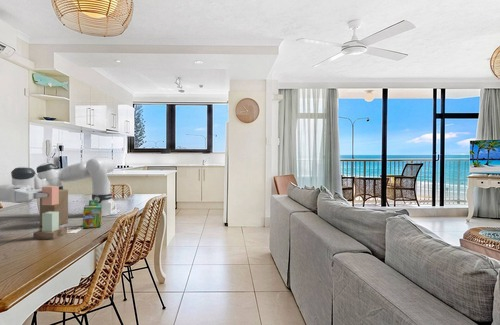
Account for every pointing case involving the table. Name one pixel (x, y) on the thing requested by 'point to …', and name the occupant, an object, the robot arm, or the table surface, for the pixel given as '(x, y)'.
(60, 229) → the walnut base
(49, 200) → the coral brick
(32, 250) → the table surface
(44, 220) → the sage brick
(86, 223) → the green printed box
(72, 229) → the page
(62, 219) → the wooden block
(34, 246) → the table surface
